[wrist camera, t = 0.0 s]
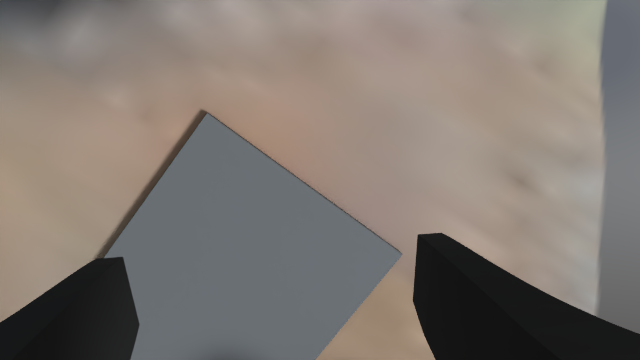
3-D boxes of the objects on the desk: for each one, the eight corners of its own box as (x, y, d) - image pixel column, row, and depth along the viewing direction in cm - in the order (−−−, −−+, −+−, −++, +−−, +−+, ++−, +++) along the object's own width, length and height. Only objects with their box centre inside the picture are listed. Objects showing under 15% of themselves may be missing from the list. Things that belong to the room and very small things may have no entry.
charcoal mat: (184, 513, 25) (183, 518, 24) (-11, 419, 22) (-15, 423, 22) (400, 252, 22) (402, 254, 22) (208, 112, 20) (207, 113, 19)
